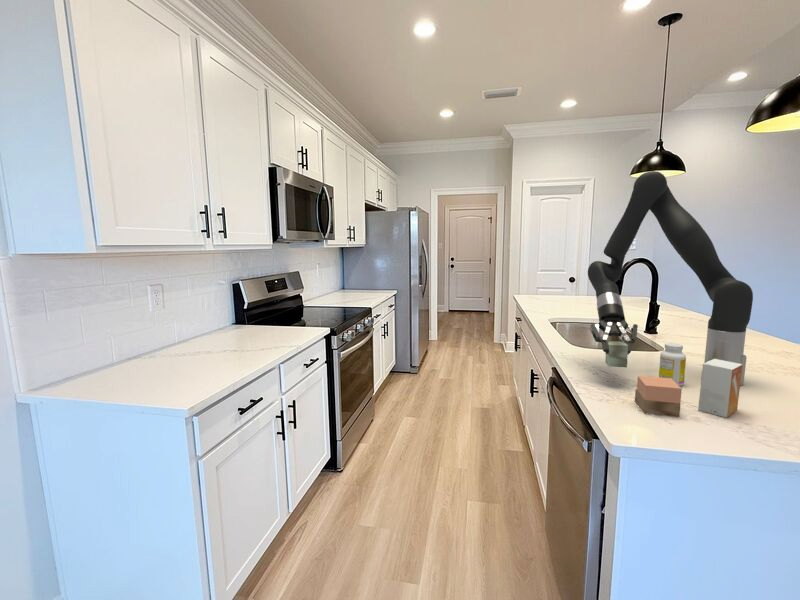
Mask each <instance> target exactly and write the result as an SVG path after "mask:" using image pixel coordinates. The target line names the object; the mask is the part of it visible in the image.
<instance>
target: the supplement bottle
mask: <svg viewBox="0 0 800 600" xmlns="http://www.w3.org/2000/svg"><path fill="white" fill-rule="evenodd" d="M664 349H665V350H663V351H660V355H659V370H658V377H660V378H671V379H672V380H673V381H674V382H675V383H676V384H677V385H678V386H679V387H682V386H683V385H684V384H685V377H686V376H685V374H686V363H687V362H686V361H687V356H686V354H685V353H684V352H683V349H684V346H683V344H680V343H676V342H675V343H674V342H665V343H664Z"/></svg>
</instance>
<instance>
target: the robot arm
mask: <svg viewBox="0 0 800 600" xmlns="http://www.w3.org/2000/svg"><path fill="white" fill-rule="evenodd" d="M649 211H650V212H651V213H652V215H654V217H655V218H656V220H657V222H658V224H659V226H660V228H661V231H662V232H663V234H664V235H665V237H666V239H667V240H668V242H669V243H670V244H671V246H672V247H673V249H674V250H675V251H676V253H677V254H678V255H679V256H680V258H681V259H682V260H683V261H684V263H686V264H687V266H688V267H689V268H690V269H691V270H692V272H694V274H695V275H696V276H697V278H698V280H699V281H700V282H701V284H702V286H703V288H704V290H705V292H706V294H707V296H708V297H709V299H710V300H711V302H712V309H711V316H710V317H709V319H708V322H707V331H706V332H707V334H706V342H705V343H706V344H705V351H704V352H705V353H704V360H703V364H704V363H706V362H708V361H710V360H713V359H718V360H723V361H729V362H734V363H739V364H743V366H742V374H741V382H740V386H744V382H745V377H746V376H745V374H746V368H747V367H746V365H747V355H745V353H744V351H745V342H746V334H747V326H748V325H749V323H750V320H751V315H752V307H753V301H754V293H753V289H752V287H751V286H750V285H749V284H748V283H746V282H744V281H742V280H738V279H736V277H734V276H733V274H731V272H729V270H728V269H727V268H726V267H725V266H724V264H723V263H722V261H721V259H720V258H719V256H718V253H717V250H716V248H715V246H714V242H713V241H712V239H711V238H710V236H709V235H708V233H707V232H706V231H705V230H704V228H703V227H702V225H701V224H700V223H699V221H697V220H696V218H695V217H694V216H693V215H692V214H690V212H689V211H687V210H686V209H685V208H684V207H683V206H682V205H681V204H680V203H679V202H678V200H677V199H676V198H675V196H674V194H673V192H672V191H671V189H670V187H669V186H668V180H667V178H666V176H665V175H664V174H663V173H662V172H659V171H656V170H650V171H647V172H644V173H642V174H640V175H639V176H638V177H637V179H635V182H634V183H633V188H632V192H631V195H630V199H629V201H628V204H627V206H626V208H625V210H624V212H623V215H622V216H621V218H620V220H619V221H618V223H617V225H616V227H615V228H614V230H613V232H612V234H611V235H610V237H609V239H608V240H607V241H608V242H607V243H606V246H605V247H604V249H603V254H604V255H605V256H607V257H608V258H610V263H607V262H605V261H601V260H595V261H593V262H591V264H589V266H588V268H587V277H588V280H589V282H590V284H591V285H592V288H593V289H594V291H595V297H596V311H597V314H598V315H597V316H598V323H594V322H592V323H591V324H590V326H589V330H590V332H591V335H592V337H593V340H594V342H596V343H601V346H602V352H604V354H605V355H606V354H608V353H609V346H608V341H609V340H608V338H609V337H613V336H615V337H618V338H619V339H620V340H621V342H625V343H626V344H627V345H628V355H629V354H630V353H631V352H632V345H631V344H635V342H636V340H637V337H638V336H637V335H638V328H639V327H638V326H639V325H638V324H629V323H628V322H627V321H626V317H625V312H624V307H623V302H622V299H621V297H620V291H619V287H618V284H616V282H618V281H619V279H620V277H621V276H622V270H623V265H624V261H625V258H626V255H627V253H628V251H629V250H630V248H631V246H632V244H633V242H634V240H635V238H636V236H637V233H638V232H639V229H640V227H641V226H642V223H643V221H644V219H645V217H646V216H647V214H648V213H649ZM599 329H600V330H601V331H602V332H603V336H601V335H600V332H599V331H598V330H599ZM627 329H628V331H629V333H630V337H629V335H628V332H627V331H626V330H627Z"/></svg>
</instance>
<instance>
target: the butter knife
mask: <svg viewBox="0 0 800 600" xmlns="http://www.w3.org/2000/svg"><path fill="white" fill-rule="evenodd" d="M632 407H633V408H634V407H635V409H636V408H637V409H636V410H638V409H639V410H638V411H640V410H641V408H640V407H638V405H632ZM641 412H642V410H641ZM651 415H652V416H651ZM648 416H651V417H653V418H656V419H658V418H660V417H661V416H660V415H655V414H648ZM661 419H663V418H662V417H661V418H660V419H659V420H661ZM663 422H665V423H667V422H668V424H670V425H672V424H673V423H672V422H670V421H668V420H666V419H664V421H663ZM673 425H674V426H675V424H673Z"/></svg>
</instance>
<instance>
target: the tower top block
mask: <svg viewBox="0 0 800 600" xmlns="http://www.w3.org/2000/svg"><path fill="white" fill-rule="evenodd" d="M636 389H637V390H638V391H639V393H640V394H641V396H642V397H643V399H644V400H651V401H661V402H670V403H681V401H682V400H681V399H682V387H681V386H678V385H677V384H676V383H675V382H674V381H673V380H672V379H671V378H660V377H659V376H658V377H657V376H649V375H648V376H647V375H637V381H636Z"/></svg>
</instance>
